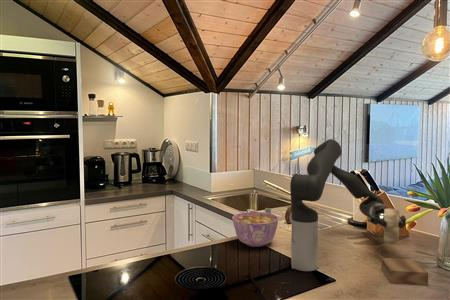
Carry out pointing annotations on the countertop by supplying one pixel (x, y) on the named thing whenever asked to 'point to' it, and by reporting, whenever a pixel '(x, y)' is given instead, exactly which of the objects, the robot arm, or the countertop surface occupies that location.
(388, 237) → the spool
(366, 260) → the countertop surface
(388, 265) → the walnut base
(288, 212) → the tin
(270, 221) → the bowl of food
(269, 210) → the flask
